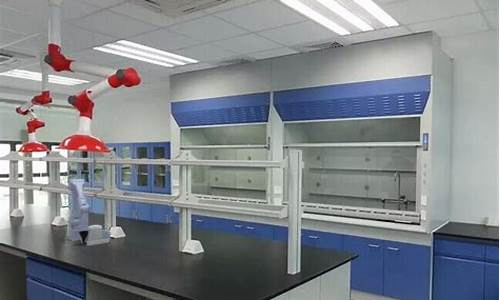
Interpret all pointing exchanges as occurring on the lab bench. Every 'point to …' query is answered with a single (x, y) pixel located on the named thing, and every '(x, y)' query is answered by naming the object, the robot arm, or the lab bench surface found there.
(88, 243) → the display stand
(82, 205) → the robot arm
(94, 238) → the photo printer
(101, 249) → the lab bench surface
